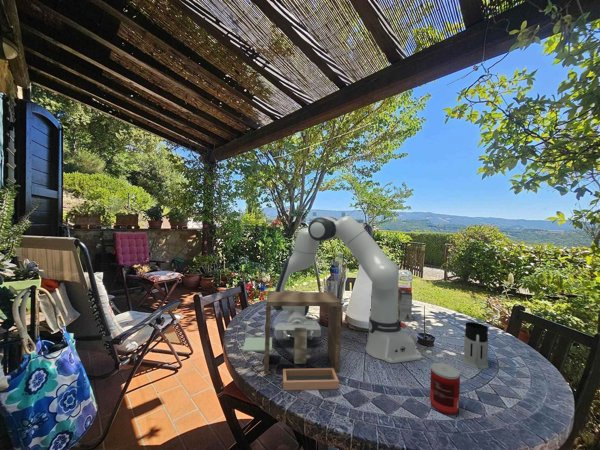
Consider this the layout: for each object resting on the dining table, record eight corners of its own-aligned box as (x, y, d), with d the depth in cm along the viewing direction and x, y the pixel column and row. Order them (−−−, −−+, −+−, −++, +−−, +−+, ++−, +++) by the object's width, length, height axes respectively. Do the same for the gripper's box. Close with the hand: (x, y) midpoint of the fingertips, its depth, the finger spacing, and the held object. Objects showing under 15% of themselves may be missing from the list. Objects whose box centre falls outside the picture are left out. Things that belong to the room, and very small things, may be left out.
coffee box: (397, 315, 161) (398, 289, 161) (408, 317, 160) (409, 290, 160) (399, 321, 152) (400, 293, 152) (411, 322, 151) (412, 294, 151)
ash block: (304, 357, 106) (305, 327, 107) (306, 363, 102) (307, 332, 102) (293, 357, 106) (294, 327, 106) (294, 363, 102) (295, 332, 102)
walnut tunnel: (331, 353, 110) (333, 292, 110) (339, 372, 96) (341, 302, 96) (265, 354, 108) (267, 291, 108) (264, 374, 94) (266, 301, 94)
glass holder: (487, 361, 108) (488, 324, 108) (491, 378, 96) (492, 336, 96) (462, 355, 113) (463, 320, 113) (463, 370, 101) (464, 330, 101)
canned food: (448, 397, 84) (449, 362, 84) (465, 415, 76) (466, 377, 76) (424, 397, 84) (425, 362, 84) (438, 415, 76) (440, 376, 76)
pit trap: (333, 375, 95) (333, 368, 95) (338, 388, 87) (338, 381, 87) (282, 376, 93) (282, 368, 93) (283, 390, 85) (283, 382, 85)
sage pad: (272, 338, 123) (272, 337, 123) (271, 351, 111) (271, 349, 111) (245, 339, 122) (245, 337, 122) (242, 351, 110) (242, 350, 110)
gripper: (274, 318, 123) (274, 330, 109) (318, 318, 124) (323, 330, 111) (273, 332, 123) (273, 345, 109) (317, 331, 124) (323, 345, 111)
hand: (299, 337), depth 110 cm, fingers open, 8 cm apart
